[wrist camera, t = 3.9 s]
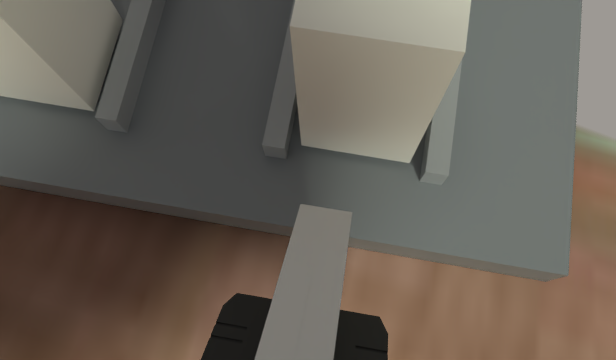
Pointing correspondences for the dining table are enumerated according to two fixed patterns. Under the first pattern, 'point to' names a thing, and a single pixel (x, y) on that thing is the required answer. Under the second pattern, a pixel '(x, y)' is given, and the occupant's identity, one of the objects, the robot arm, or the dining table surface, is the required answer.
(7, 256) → the dining table surface
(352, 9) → the tab right
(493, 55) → the switch bank
